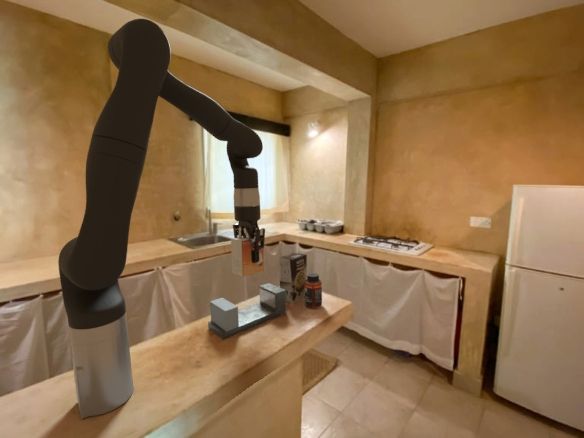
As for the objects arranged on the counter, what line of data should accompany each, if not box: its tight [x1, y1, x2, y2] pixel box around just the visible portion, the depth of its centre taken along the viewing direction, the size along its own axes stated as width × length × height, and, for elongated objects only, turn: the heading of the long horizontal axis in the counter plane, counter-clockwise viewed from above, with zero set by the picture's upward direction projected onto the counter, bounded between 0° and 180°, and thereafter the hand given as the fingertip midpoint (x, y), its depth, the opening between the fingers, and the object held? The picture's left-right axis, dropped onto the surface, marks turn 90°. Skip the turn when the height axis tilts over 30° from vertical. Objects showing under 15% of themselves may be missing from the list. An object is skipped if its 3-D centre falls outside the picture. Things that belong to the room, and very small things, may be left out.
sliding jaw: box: [209, 297, 239, 332], centre depth 82 cm, size 4×9×6 cm, turn 43°
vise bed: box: [207, 282, 287, 341], centre depth 88 cm, size 23×9×8 cm, turn 133°
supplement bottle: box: [304, 272, 323, 310], centre depth 97 cm, size 6×6×11 cm
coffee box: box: [279, 252, 308, 304], centre depth 104 cm, size 9×6×16 cm
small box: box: [230, 237, 265, 278], centre depth 83 cm, size 8×6×10 cm
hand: (249, 259), depth 84 cm, fingers closed on small box, 5 cm apart
